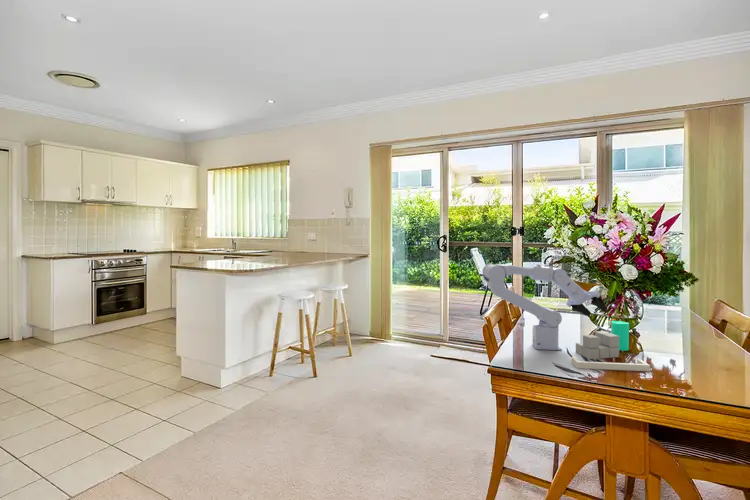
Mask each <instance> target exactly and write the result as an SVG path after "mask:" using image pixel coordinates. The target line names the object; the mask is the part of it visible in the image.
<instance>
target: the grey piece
mask: <svg viewBox="0 0 750 500" xmlns="http://www.w3.org/2000/svg"><path fill="white" fill-rule="evenodd" d="M570 362H571V364H572V365H573V366H574V367H575V368H577V369H589V370H593V369H594V370H608V371H609V370H610V371H611V370H612V371H632V372H633V371H635V372H636V371H639V372H651V365H650V364H649V363H647V362H646V361H644V360H643V359H641V358H637V359H636V363H631V362H630V363H629V362H627V363H626V362H607V361H606V362H605V361H604V362H603V361H582V360H581V361H580V360H579V359H578V358H577V357H576V356H571V360H570Z"/></svg>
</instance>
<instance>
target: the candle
mask: <svg viewBox="0 0 750 500" xmlns="http://www.w3.org/2000/svg"><path fill="white" fill-rule="evenodd" d="M610 323H611V327H610V328H611V329H610V332H611V334H614V335H617V336H619V351H620V350H621V352H622V351H629V350H630V348H629V347H630V323H629V322H625V321H622V320H611V322H610Z"/></svg>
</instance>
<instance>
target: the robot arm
mask: <svg viewBox="0 0 750 500" xmlns="http://www.w3.org/2000/svg"><path fill="white" fill-rule="evenodd" d="M510 275H517V276H528V277H530V279H531V280H535V281H542V282H549V283H550V282H552V283H554V284H555V286H557V287H558V288H559V289H560V290H561V291H562V292H563V293H564V294H565V295H567V296H568V298H570V299H568V300H567V301H566V304H565V305H566V306H567V307H569V308H571V310H572V311H573V312H577V313H580V314H582V315H584V316H586V317H589V318H590V317H591V313H592V312H591V311H590V309H588V308H587V307H586V306H585V304H584V303H586V302H587V301H590V300H591V303H590V304H591V305H593V306H595V307H597V308H598V309H600V310H601V311H602V312H603V313H606V312H607V310H608V307H607V306H606V304H605V303H604V301H603V299H602V294H601V293H600V292H599V291H598V290H594V291H587V290H586V289H583V288H582V287H581V286H580V285H579V284H577V282H576V281H574V280H573V279H572V278H571V277H570V276H568V272H567V271H566V270H564V269H563V268H562V269H561V268H558V267H553V266H552V265H550V266H542V264H540V263H539V264H538V263H536V265H535V264H534V265H532V266H530V267H525V266H520V265H512V264H505V263H504V264H503V263H500V264H499V263H495V264H493V263H488V264H485V265H484V267H483V268H482V278H483V280H484V282H485V283H486V284H487V286H488V288H489V290H490V291H491V293H492V294H493V295H495V296H496V297H498V298H500V299H503V300H505V301H507V302H509V304H512V305H514V306H516V307H518V308H520V309H522V310H523V311H525V312H528V313H530V314H531V315H533V316H535V317H536V319H537V320H538V324H533V326H532V342H531V344H532V346H533V347H534V348H535V349H536V350H550V351H552V350H553V351H562V347H560V346H559V325H561V323H562V320H563V316H562V314H561V313H560V312H559V311H558V310H553V309H552V308H550V307H547V306H543V305H539V304H538V303H536V302H534V301H532V300H530V299H528V298H526V297H524V296H522V295H520V294H519V293H516V292H515V291H513V290H511V289H509V288H508V287H506V284H505V280H506V279H505V278H508V277H510Z"/></svg>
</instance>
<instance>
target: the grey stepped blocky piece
mask: <svg viewBox="0 0 750 500" xmlns="http://www.w3.org/2000/svg"><path fill="white" fill-rule="evenodd" d="M575 353H576V354H577V355H579V356H582V357H584V358H587V359H589V360H595V359H609V358H610V359H611V358H619V357H620V350H619V336H617V335H614V334H611V333H610V332H608V331H605V330H603V331H602V330H600V331H599V330H598V331H596V330H595V332H594V335H593V334H586V335H585V334H584V335H582V342H575Z"/></svg>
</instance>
